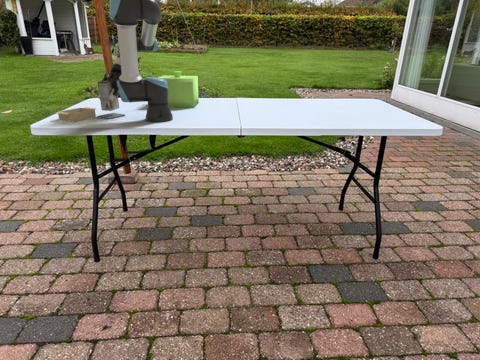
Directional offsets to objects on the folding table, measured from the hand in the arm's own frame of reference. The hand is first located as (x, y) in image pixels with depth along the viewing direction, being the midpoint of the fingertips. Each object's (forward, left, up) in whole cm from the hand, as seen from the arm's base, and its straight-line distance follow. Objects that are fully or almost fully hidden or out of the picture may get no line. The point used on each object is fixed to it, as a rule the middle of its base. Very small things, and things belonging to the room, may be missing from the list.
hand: (105, 99), depth 198 cm
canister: (-7, -58, -11) cm, 60 cm away
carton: (+13, +10, -11) cm, 20 cm away
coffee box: (+1, -4, -7) cm, 8 cm away
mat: (0, -3, -11) cm, 11 cm away
